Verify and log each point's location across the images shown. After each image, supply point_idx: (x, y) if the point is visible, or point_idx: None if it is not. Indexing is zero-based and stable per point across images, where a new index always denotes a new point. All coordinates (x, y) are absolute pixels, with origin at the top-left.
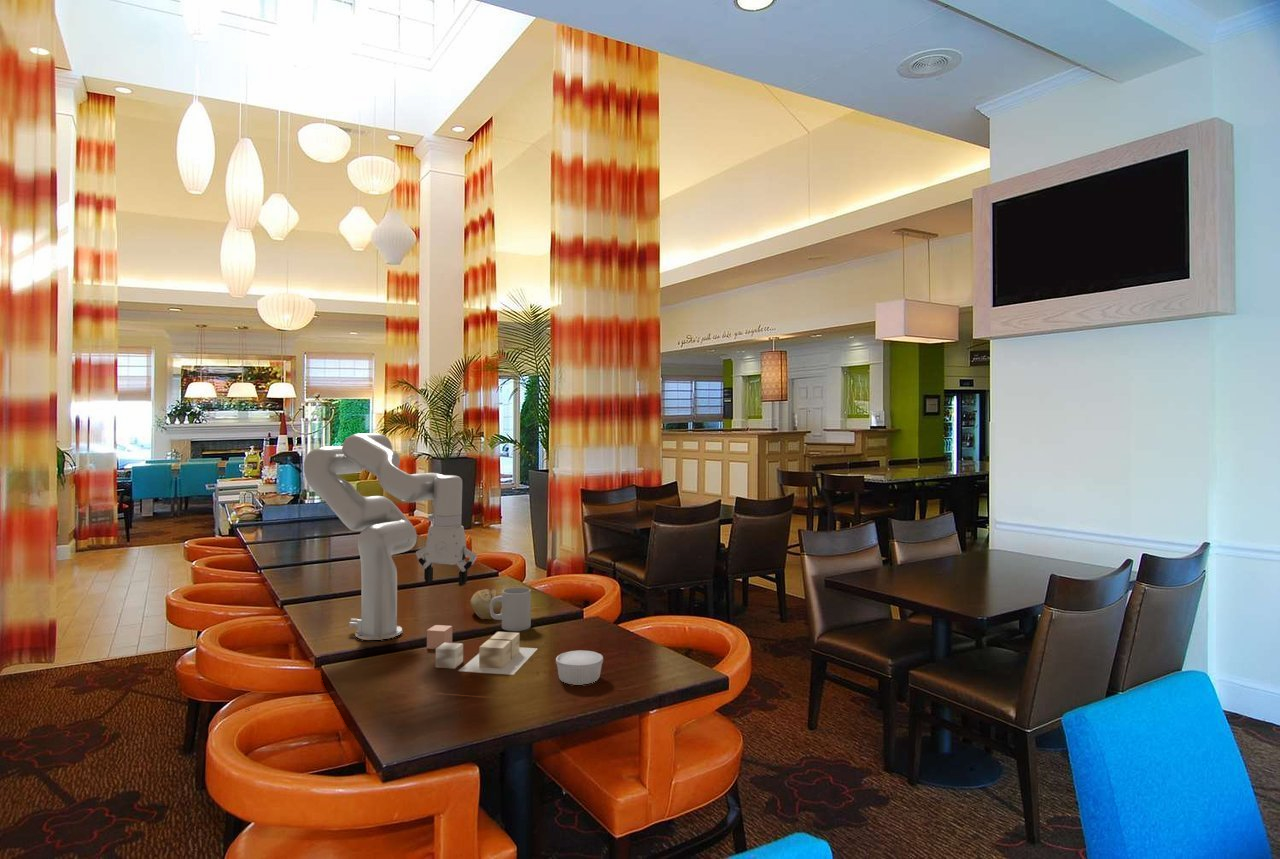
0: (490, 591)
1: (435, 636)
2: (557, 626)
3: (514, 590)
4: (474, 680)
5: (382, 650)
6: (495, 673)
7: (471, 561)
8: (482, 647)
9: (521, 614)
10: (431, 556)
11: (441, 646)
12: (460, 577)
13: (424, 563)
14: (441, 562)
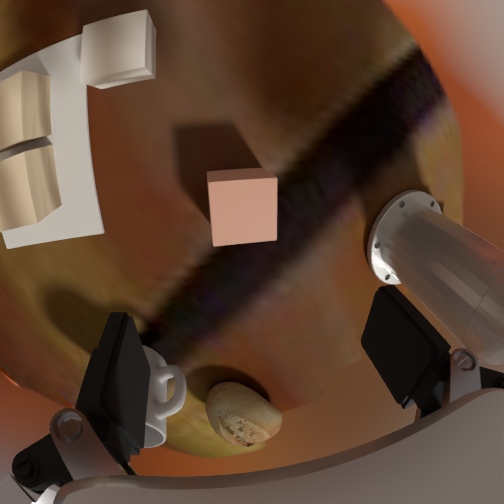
0: (241, 439)
1: (241, 176)
2: (75, 376)
3: (153, 440)
4: (43, 18)
5: (365, 132)
6: (11, 65)
7: (14, 483)
8: (16, 73)
9: None
10: (499, 454)
11: (136, 31)
12: (99, 361)
13: (474, 383)
14: (345, 472)
